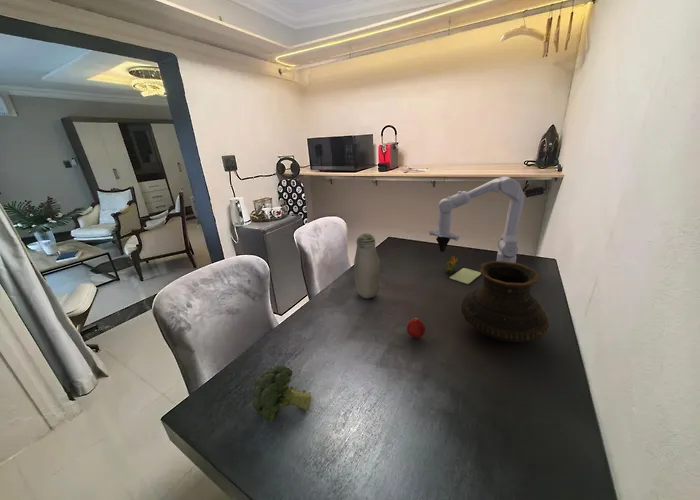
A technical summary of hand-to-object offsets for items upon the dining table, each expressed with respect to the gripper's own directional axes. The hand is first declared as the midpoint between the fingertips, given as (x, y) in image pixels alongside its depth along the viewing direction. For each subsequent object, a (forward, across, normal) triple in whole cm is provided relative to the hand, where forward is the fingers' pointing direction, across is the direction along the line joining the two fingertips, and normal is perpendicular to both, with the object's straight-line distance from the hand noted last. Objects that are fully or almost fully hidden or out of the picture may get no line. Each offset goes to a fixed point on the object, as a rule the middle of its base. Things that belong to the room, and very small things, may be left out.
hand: (442, 251), depth 129 cm
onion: (+10, +20, -51) cm, 56 cm away
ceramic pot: (+10, +38, -30) cm, 50 cm away
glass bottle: (+10, -10, -43) cm, 45 cm away
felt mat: (+9, +12, 0) cm, 16 cm away
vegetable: (+10, +12, -95) cm, 96 cm away
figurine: (+10, +6, 0) cm, 11 cm away
